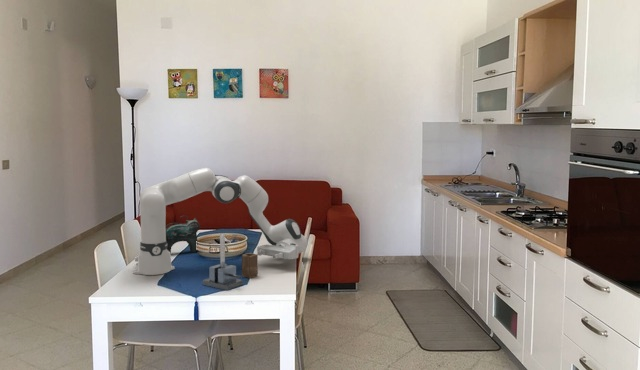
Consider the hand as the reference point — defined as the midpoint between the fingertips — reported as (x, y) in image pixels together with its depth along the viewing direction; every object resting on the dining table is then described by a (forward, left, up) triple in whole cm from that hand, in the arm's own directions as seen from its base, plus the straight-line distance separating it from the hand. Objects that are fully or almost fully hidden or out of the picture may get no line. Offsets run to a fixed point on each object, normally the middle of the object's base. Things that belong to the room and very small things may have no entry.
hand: (266, 255), depth 265 cm
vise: (+14, -24, -7) cm, 29 cm away
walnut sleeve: (+5, -10, -7) cm, 14 cm away
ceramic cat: (-51, -27, -8) cm, 58 cm away
